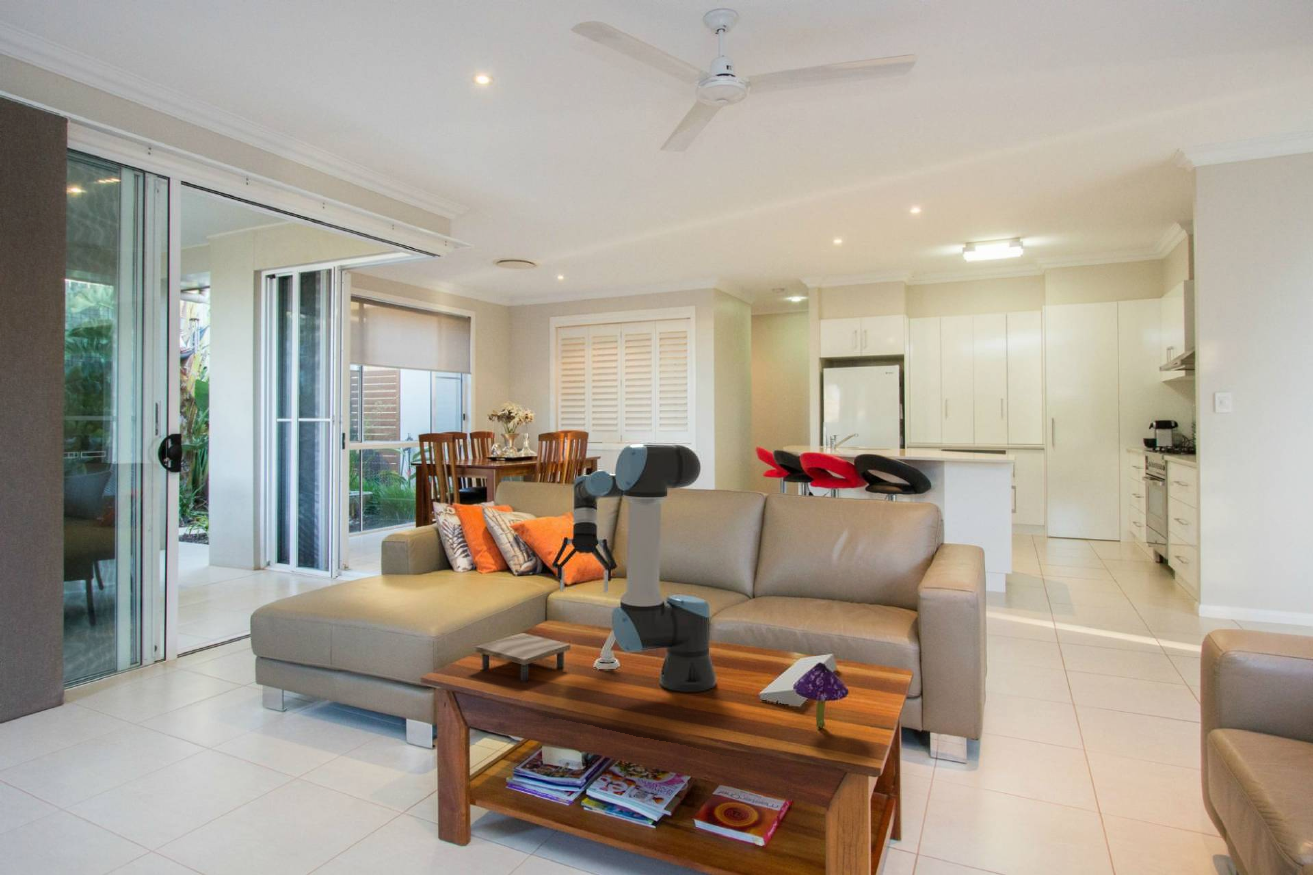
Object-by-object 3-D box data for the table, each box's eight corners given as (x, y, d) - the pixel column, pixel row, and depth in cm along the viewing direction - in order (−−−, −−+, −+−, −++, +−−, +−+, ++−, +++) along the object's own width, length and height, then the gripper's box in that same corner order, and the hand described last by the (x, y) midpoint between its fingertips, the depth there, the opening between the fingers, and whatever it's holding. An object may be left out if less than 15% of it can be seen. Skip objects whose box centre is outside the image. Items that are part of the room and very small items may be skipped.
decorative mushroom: (822, 744, 150) (822, 675, 150) (781, 725, 160) (781, 660, 160) (860, 731, 157) (860, 665, 157) (818, 713, 167) (819, 651, 167)
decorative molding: (763, 712, 175) (800, 709, 171) (758, 693, 176) (795, 689, 171) (805, 674, 205) (837, 670, 200) (800, 658, 206) (833, 653, 201)
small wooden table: (570, 666, 202) (570, 644, 202) (524, 683, 187) (524, 659, 187) (522, 654, 213) (522, 633, 213) (475, 669, 199) (475, 646, 199)
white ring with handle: (635, 643, 207) (628, 635, 202) (617, 681, 202) (609, 674, 197) (614, 635, 211) (607, 626, 206) (596, 672, 206) (587, 664, 200)
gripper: (620, 528, 228) (620, 594, 220) (544, 525, 221) (541, 592, 213) (626, 523, 221) (626, 590, 213) (547, 519, 214) (545, 588, 207)
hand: (584, 591), depth 213 cm, fingers open, 13 cm apart
